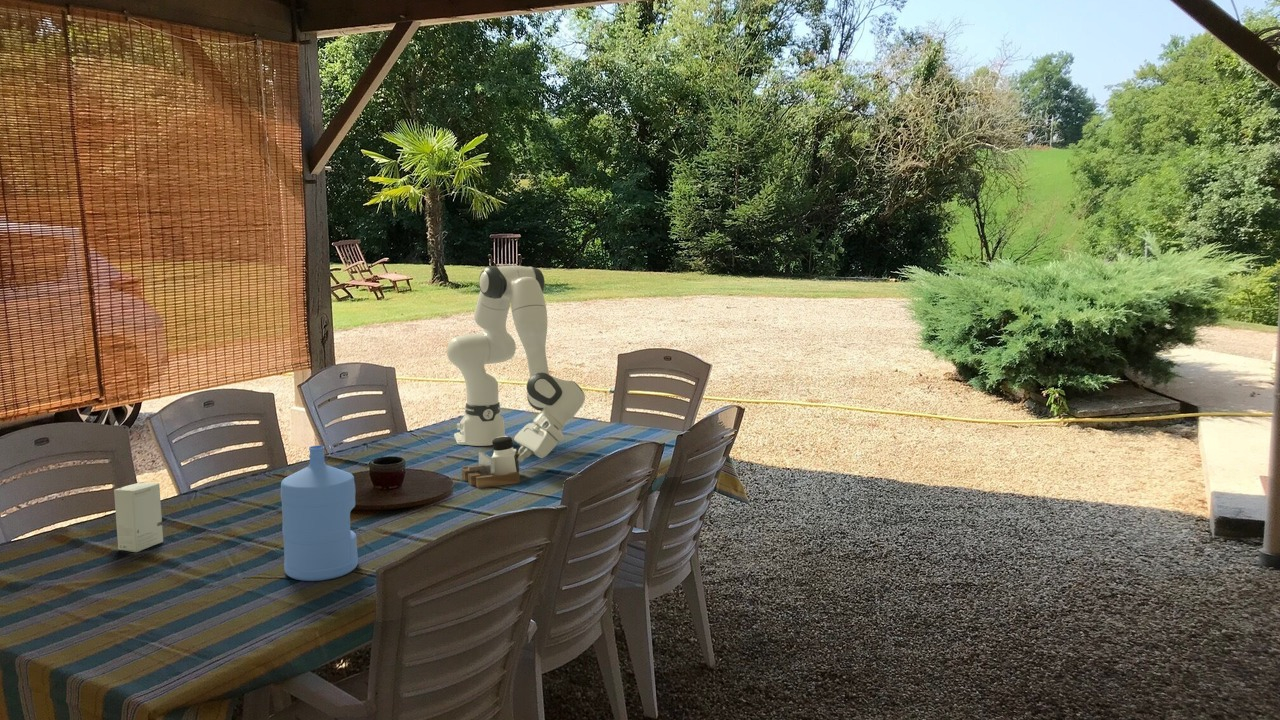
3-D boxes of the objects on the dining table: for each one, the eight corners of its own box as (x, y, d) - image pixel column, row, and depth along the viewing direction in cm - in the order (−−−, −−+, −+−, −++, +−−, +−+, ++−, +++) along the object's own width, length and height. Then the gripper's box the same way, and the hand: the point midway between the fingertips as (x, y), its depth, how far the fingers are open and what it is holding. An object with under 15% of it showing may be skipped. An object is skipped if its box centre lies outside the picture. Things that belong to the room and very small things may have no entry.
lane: (459, 476, 281) (459, 466, 281) (502, 470, 288) (502, 461, 288) (474, 488, 268) (474, 478, 268) (519, 482, 275) (519, 473, 274)
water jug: (316, 588, 194) (310, 459, 190) (269, 572, 202) (262, 449, 198) (373, 565, 207) (368, 445, 203) (327, 552, 215) (322, 436, 211)
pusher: (463, 475, 280) (462, 453, 279) (482, 473, 283) (482, 451, 282) (474, 485, 270) (474, 462, 269) (494, 482, 273) (494, 459, 272)
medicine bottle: (517, 476, 278) (512, 438, 276) (494, 480, 278) (488, 441, 276) (519, 470, 285) (514, 433, 283) (497, 473, 285) (491, 436, 283)
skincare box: (136, 553, 214) (132, 491, 212) (116, 550, 215) (111, 489, 213) (165, 541, 222) (160, 482, 219) (145, 538, 223) (141, 480, 221)
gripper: (527, 414, 293) (499, 446, 289) (552, 426, 275) (521, 461, 272) (541, 426, 295) (512, 459, 292) (565, 439, 277) (536, 474, 274)
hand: (517, 460), depth 282 cm, fingers closed
